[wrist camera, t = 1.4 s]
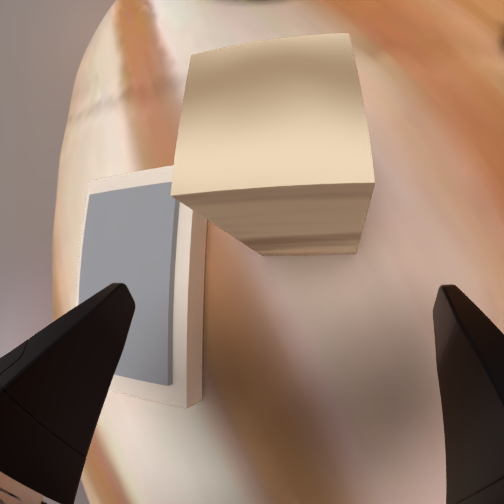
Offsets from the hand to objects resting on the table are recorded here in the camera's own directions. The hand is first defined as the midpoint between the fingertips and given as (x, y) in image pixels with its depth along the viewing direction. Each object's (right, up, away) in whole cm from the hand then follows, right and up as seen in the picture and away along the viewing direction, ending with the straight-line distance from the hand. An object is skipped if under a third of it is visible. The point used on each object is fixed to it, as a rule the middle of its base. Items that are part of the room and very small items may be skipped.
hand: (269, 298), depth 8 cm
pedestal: (-9, -1, +15) cm, 17 cm away
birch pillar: (+3, +4, +12) cm, 13 cm away
